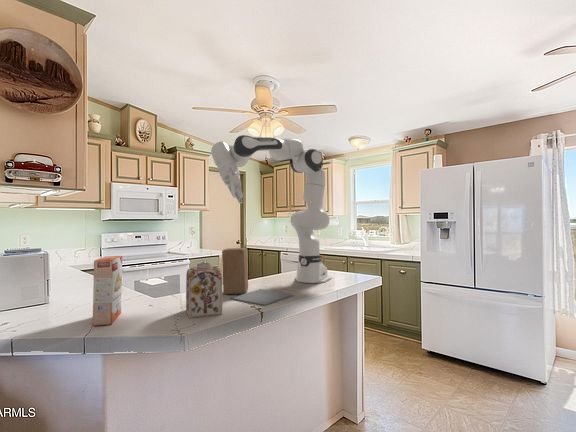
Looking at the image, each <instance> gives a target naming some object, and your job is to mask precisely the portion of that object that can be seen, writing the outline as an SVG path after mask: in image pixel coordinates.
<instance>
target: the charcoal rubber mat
mask: <svg viewBox="0 0 576 432" xmlns="http://www.w3.org/2000/svg"><path fill="white" fill-rule="evenodd" d="M293 296H294V294H292V293H285V292H279V291H275V290H274V291H273V290H267V289H261V288H258V289H256V290H253V291H249V292H245V293H244V294H237V295H235V296H231V297H229V300H232V301H238V302H243V303H248V304H251V305H252V304H253V305H258V306H263V307H266V306H268V305H272V304H273V303H277V302H280V301H283V300H286V299H288V298H292V297H293Z"/></svg>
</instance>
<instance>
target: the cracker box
mask: <svg viewBox="0 0 576 432" xmlns="http://www.w3.org/2000/svg"><path fill="white" fill-rule="evenodd" d="M122 278H123V256H122V255H108V256H107V255H106V256H103V257H100V258H98V259H95V260H93V287H92V288H93V293H92V294H93V295H92V296H93V297H92V326H93V327H95V326H108V325H109V326H110V325H113V323H114V322H115V321H116V319H118V317H119V316H120V314H121V313H122V291H123V290H122V288H123V287H122V284H123V283H122V282H123V281H122V280H123V279H122Z"/></svg>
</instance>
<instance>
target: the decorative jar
mask: <svg viewBox="0 0 576 432" xmlns="http://www.w3.org/2000/svg"><path fill="white" fill-rule="evenodd" d="M221 271H222V270H221V269H220V268H219V267H218V266H211V262H208V261H207V262H205V261H202V262H197V264H196V266H194V267H190V268H187V271H186V276H185V277H186V278H185V279H186V281H185V282H186V283H185V285H186V286H185V289H186V290H185V303H186V304H185V307H186V308H185V309H186V313H187V316H188V319H193V318H194V319H195V318H202V317H212V316H219V315H220V316H221V315H222V314H223V273H222V272H221Z"/></svg>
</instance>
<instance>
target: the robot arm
mask: <svg viewBox="0 0 576 432" xmlns="http://www.w3.org/2000/svg"><path fill="white" fill-rule="evenodd" d="M260 151H262V152H263V151H265V152H266V151H268V154H269V156H270V157H271V159H272V160H274V161H286V160H288V161H289V165H290V167H291V168H290V169H292V171H293V172H294V173H299V174H302V173H305V177H306V178H305V184H304V190H303V197H302V198H303V199H302V200H303V201H304V202H306V207H307V208H306V210H298V211H295V212H293V214H291V217H290V223H291V226H292V227H293V228H294V230H295V231H296V234H297V235H296V236H297V237H298V238H297V239H298V242H299V243H298V246H299V254H298V264H297V265H296V276H295V277H294V280H296V281H297V282H299V283H305V284H306V283H307V284H316V283H323V284H324V283H326V282H327V281H330V280H331V279H333V278H332V276H330V275H328V267H327V266H326V265H324V263H323V262H322V260H323V259H324V255H322V254H320V240H319V239H318V237H316V235H315V233H314V231H320V230H324V229H326V228H328V226H329V224H330V216H329V213H328V212H327V211H326V209H325V207H324V192H325V186H326V173H325V170H324V169H323V163H324V161H323V160H324V158H323V155H322V153H321V151H320V150H319V149H317V148H309V149H308V150H305V149H304V145H303V143H302V141H301V140H299V139H298V138H279V137H271V136H270V137H266V136H264V137H262V136H261V137H259V136H258V137H255V136H251V135H246V134H244V135H239V136H237V137H236V139H235V140H234V144H233V145H232V144H229V143H226V142H224V141H223V140H221V141H218V142H216V143H215V144H214V145H213V146H212V147H211V149H210V153H211V156H212V159H213V162H214V164H215V166H216V167H217V171H218V173H219V175H220V177H221V180H222V181H223V182H224V185H225V186H227V189H228V190H229V192H230V194H231V195H232V197H233V198H234V199H236V200H237V202H238V203H239V204H242V203H244V202H243V199H242V198H244V193H243V190H242V181H241V178H240V174H241V173H240V170H239V169H238V168H242V167H243V166H245V165H247V164H248V162H249V161H250V159H251V158H252V156H253V155H254V154H255V153H256V152H260Z"/></svg>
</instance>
